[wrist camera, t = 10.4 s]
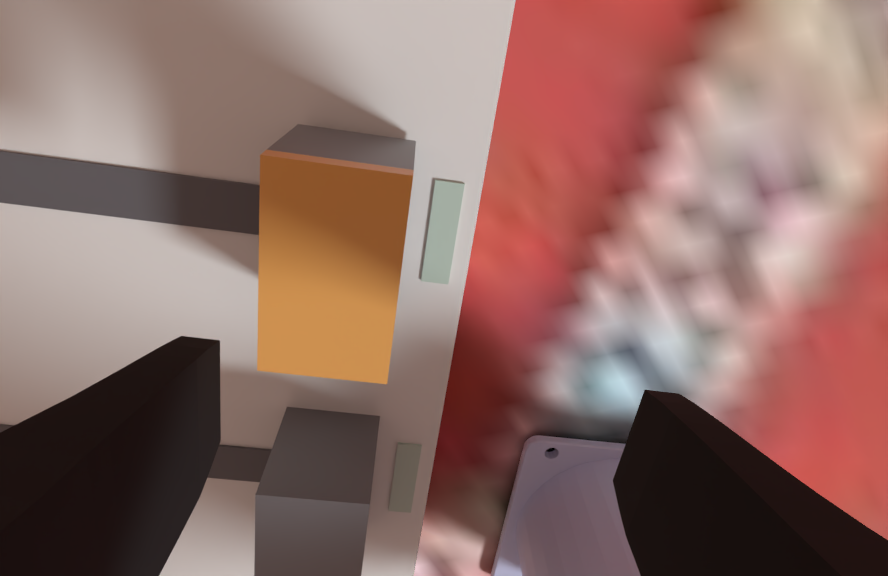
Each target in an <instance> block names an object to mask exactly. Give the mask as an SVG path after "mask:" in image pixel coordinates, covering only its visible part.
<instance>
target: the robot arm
mask: <svg viewBox="0 0 888 576" xmlns="http://www.w3.org/2000/svg"><path fill="white" fill-rule="evenodd" d="M220 441H221V413H220V340H213V339H204V338H195V337H187V336H180V337H178V338H176V339H174V340H172V341H170V342H168V343H166V344H164V345H163V346H161V347H159V348H157V349H155V350H154V351H152V352H150V353H148V354H147V355H145V356H143V357H141V358H140V359H138V360H136V361H134V362H132V363H131V364H129V365H127V366H125V367H124V368H122V369H120V370H118V371H117V372H115V373H113V374H111V375H109V376H108V377H106V378H104V379H102V380H100V381H99V382H97V383H95V384H93V385H91V386H90V387H88V388H86V389H84V390H82V391H81V392H79V393H77V394H75V395H73V396H71V397H70V398H68V399H66V400H64V401H62V402H60V403H58V404H56V405H54V406H52V407H50V408H48V409H46V410H44V411H42V412H40V413H38V414H36V415H34V416H32V417H30V418H28V419H26V420H24V421H22V422H20V423H18V424H16V425H14V426H12V427H10V428H8V429H6V430H4V431H2V432H0V576H159V575H160V573H161V571H162V569H163V567H164V565H165V564H166V562H167V560H168V558H169V556H170V554H171V552H172V550H173V548H174V546H175V545H176V543H177V541H178V539H179V537H180V535H181V533H182V531H183V529H184V527H185V525H186V523H187V521H188V519H189V517H190V515H191V514H192V512H193V510H194V508H195V506H196V504H197V502H198V500H199V498H200V496H201V493H202V490H203V488H204V485H205V483H206V480H207V477H208V475H209V472H210V469H211V467H212V464H213V461H214V458H215V455H216V453H217V450H218V447H219V444H220ZM549 448H555V450H553V451H551V452H547V451H546V450H547V449H549ZM491 576H888V540H886V539H885V538H883V537H882V536H880V535H879V534H877V533H876V532H874V531H872V530H871V529H869V528H868V527H866V526H865V525H863V524H862V523H860V522H859V521H857V520H856V519H854V518H853V517H852V516H850V515H849V514H847V513H846V512H844V511H843V510H841V509H840V508H838V507H837V506H835V505H834V504H832V503H831V502H829V501H828V500H827V499H825V498H824V497H822V496H821V495H819V494H818V493H816V492H815V491H814V490H812V489H811V488H809V487H808V486H807V485H805V484H804V483H802V482H801V481H800V480H798V479H797V478H795V477H794V476H793V475H791V474H790V473H789V472H787V471H786V470H784V469H783V468H782V467H780V466H779V465H778V464H776V463H775V462H774V461H772V460H771V459H770V458H768V457H767V456H766V455H764V454H763V453H761V452H760V451H759V450H757V449H756V448H755V447H753V446H752V445H751V444H749V443H748V442H747V441H745V440H744V439H743V438H741V437H740V436H739V435H737V434H736V433H735V432H733V431H732V430H731V429H729V428H728V427H727V426H725V425H724V424H723V423H721V422H720V421H719V420H717V419H716V418H714V417H713V416H712V415H710V414H709V413H707V412H706V411H705V410H703V409H702V408H700V407H699V406H697V405H696V404H694V403H693V402H691V401H690V400H688V399H687V398H685V397H683V396H682V395H680V394H676V393H668V392H659V391H651V390H645V391H644V394H643V397H642V400H641V402H640V405H639V408H638V411H637V414H636V416H635V419H634V422H633V425H632V428H631V431H630V433H629V436H628V439H627V442H626V444H621V443H611V442H601V441H591V440H581V439H571V438H561V437H551V436H541V435H538V436H532V437H530V438H529V439H527V440H526V442H525V444H524V447H523V450H522V454H521V458H520V462H519V466H518V470H517V474H516V478H515V482H514V486H513V489H512V493H511V497H510V501H509V505H508V509H507V513H506V517H505V521H504V525H503V528H502V532H501V536H500V540H499V544H498V548H497V552H496V556H495V560H494V564H493V567H492V571H491Z"/></svg>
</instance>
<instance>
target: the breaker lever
mask: <svg viewBox="0 0 888 576" xmlns="http://www.w3.org/2000/svg"><path fill="white" fill-rule="evenodd" d="M415 146H416V141H414V140H407V139H400V138H393V137H386V136H379V135H372V134H365V133H358V132H351V131H344V130H337V129H330V128H323V127H316V126H309V125H302V124H297V125H296V126H295V127H294V128H293V129H291V130H290V131H289V132H288V133H286V134H285V135H284V136H283V137H281V138H280V139H279V140H278V141H276V142H275V143H274V144H273V145H272V146H270V147H269V148H268V149H267V150H265V151H264V152H263V153H262V154H260V199H259V271H258V344H257V371H265V372H274V373H284V374H293V375H303V376H313V377H322V378H332V379H341V380H351V381H360V382H370V383H379V384H387V381H388V373H389V365H390V357H391V349H392V341H393V333H394V325H395V317H396V309H397V301H398V293H399V285H400V277H401V269H402V261H403V253H404V245H405V237H406V229H407V221H408V213H409V205H410V197H411V190H412V182H413V172H414V159H415Z"/></svg>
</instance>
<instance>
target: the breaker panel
mask: <svg viewBox="0 0 888 576" xmlns="http://www.w3.org/2000/svg"><path fill="white" fill-rule="evenodd" d="M514 6H515V0H0V432H2V431H4V430H6V429H8V428H10V427H12V426H14V425H16V424H18V423H20V422H22V421H24V420H26V419H28V418H30V417H32V416H34V415H36V414H38V413H40V412H42V411H44V410H46V409H48V408H50V407H52V406H54V405H56V404H58V403H60V402H62V401H64V400H66V399H68V398H70V397H71V396H73V395H75V394H77V393H79V392H81V391H82V390H84V389H86V388H88V387H90V386H91V385H93V384H95V383H97V382H99V381H100V380H102V379H104V378H106V377H108V376H109V375H111V374H113V373H115V372H117V371H118V370H120V369H122V368H124V367H125V366H127V365H129V364H131V363H132V362H134V361H136V360H138V359H140V358H141V357H143V356H145V355H147V354H148V353H150V352H152V351H154V350H155V349H157V348H159V347H161V346H163V345H164V344H166V343H168V342H170V341H172V340H174V339H176V338H178V337H180V336H187V337H195V338H204V339H213V340H220V413H221V441H220V444H219V447H218V450H217V453H216V455H215V458H214V461H213V464H212V467H211V469H210V472H209V475H208V477H207V480H206V483H205V485H204V488H203V490H202V493H201V496H200V498H199V500H198V502H197V504H196V506H195V508H194V510H193V512H192V514H191V515H190V517H189V519H188V521H187V523H186V525H185V527H184V529H183V531H182V533H181V535H180V537H179V539H178V541H177V543H176V545H175V546H174V548H173V550H172V552H171V554H170V556H169V558H168V560H167V562H166V564H165V565H164V567H163V569H162V571H161V573H160V575H159V576H413V575H414V570H415V564H416V559H417V553H418V547H419V542H420V536H421V530H422V525H423V519H424V513H425V508H426V502H427V497H428V491H429V485H430V480H431V474H432V468H433V463H434V457H435V451H436V446H437V440H438V435H439V429H440V423H441V418H442V412H443V406H444V401H445V395H446V389H447V384H448V378H449V373H450V367H451V361H452V356H453V350H454V344H455V339H456V333H457V327H458V322H459V316H460V310H461V305H462V299H463V294H464V288H465V282H466V277H467V271H468V265H469V260H470V254H471V248H472V243H473V237H474V232H475V226H476V220H477V215H478V209H479V203H480V198H481V192H482V186H483V181H484V175H485V170H486V164H487V158H488V153H489V147H490V141H491V136H492V130H493V124H494V119H495V113H496V108H497V102H498V96H499V91H500V85H501V79H502V74H503V68H504V62H505V57H506V51H507V46H508V40H509V34H510V29H511V23H512V17H513V12H514ZM297 124H302V125H309V126H316V127H323V128H330V129H337V130H344V131H351V132H358V133H365V134H372V135H379V136H386V137H393V138H400V139H407V140H414V141H416V146H415V159H414V172H413V182H412V190H411V197H410V205H409V213H408V221H407V229H406V237H405V245H404V253H403V261H402V269H401V277H400V285H399V293H398V301H397V309H396V317H395V325H394V333H393V341H392V349H391V357H390V365H389V373H388V381H387V384H379V383H370V382H360V381H351V380H341V379H332V378H322V377H313V376H303V375H293V374H284V373H274V372H265V371H257V344H258V271H259V199H260V154H262V153H263V152H264V151H265V150H267V149H268V148H269V147H270V146H272V145H273V144H274V143H275V142H276V141H278V140H279V139H280V138H281V137H283V136H284V135H285V134H286V133H288V132H289V131H290V130H291V129H293V128H294V127H295V126H296V125H297Z"/></svg>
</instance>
